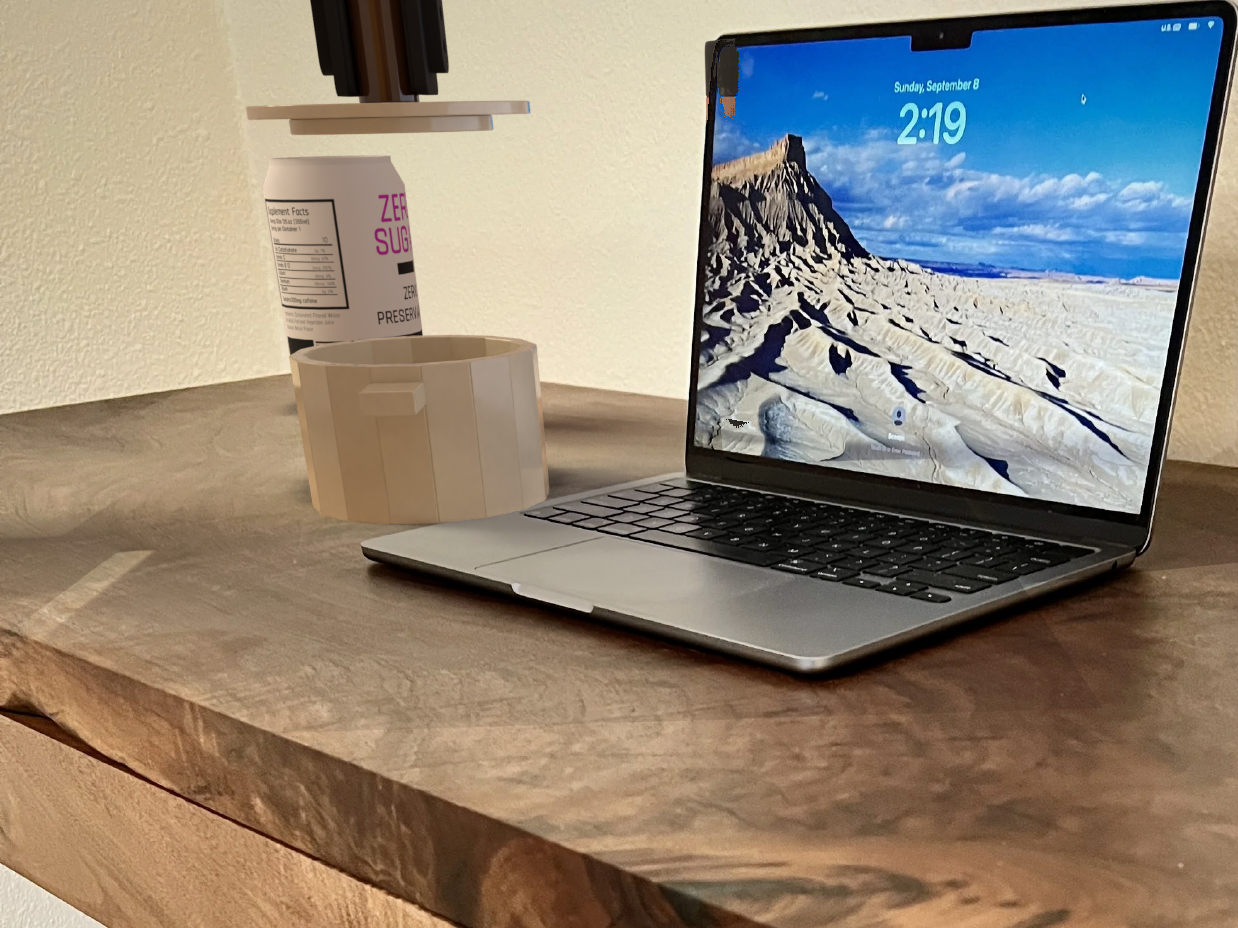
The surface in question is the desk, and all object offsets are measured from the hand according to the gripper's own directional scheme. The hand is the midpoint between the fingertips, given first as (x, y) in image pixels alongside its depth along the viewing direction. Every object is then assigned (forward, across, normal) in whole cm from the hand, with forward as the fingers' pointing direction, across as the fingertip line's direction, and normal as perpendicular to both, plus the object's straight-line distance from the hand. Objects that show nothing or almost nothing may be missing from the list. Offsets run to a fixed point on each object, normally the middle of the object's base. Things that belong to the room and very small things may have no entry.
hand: (388, 90), depth 70 cm
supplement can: (+18, +9, -27) cm, 34 cm away
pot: (+18, 0, -1) cm, 18 cm away
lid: (+1, 0, 0) cm, 1 cm away
